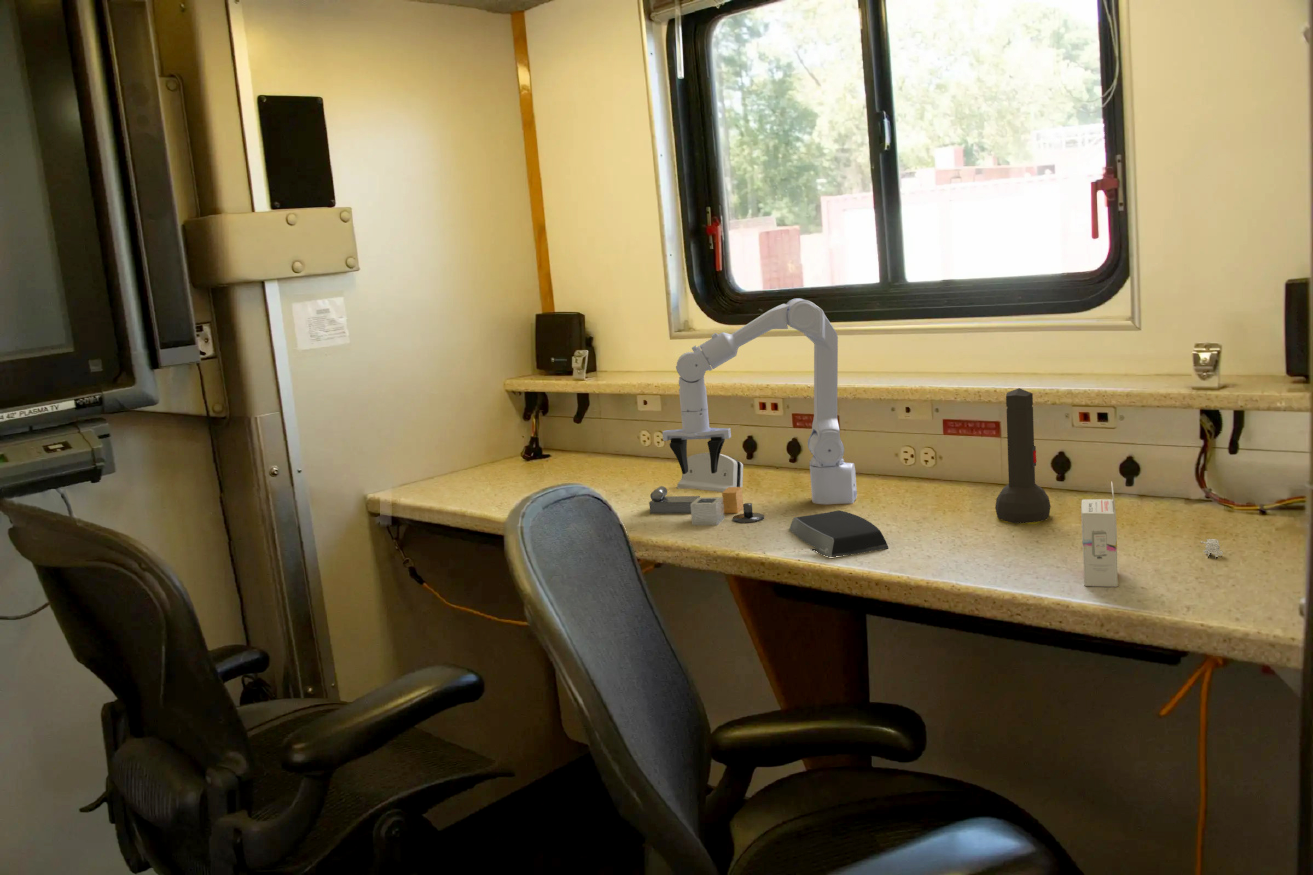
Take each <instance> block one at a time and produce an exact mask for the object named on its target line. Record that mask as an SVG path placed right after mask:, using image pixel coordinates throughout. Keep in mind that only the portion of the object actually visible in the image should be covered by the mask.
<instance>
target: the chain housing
mask: <svg viewBox="0 0 1313 875" xmlns="http://www.w3.org/2000/svg"><path fill="white" fill-rule="evenodd" d="M667 495H668V489H667V487H665V486H663V485H660V486H659V487H656V489H654V490H653V491H652V492H651V493H650V495H649V496H650V501H649V502H648V504H649V513H650V515H651V514H659V515H660V514H661V515H664V514H665V515H666V514H671V515H673V514H675V515H676V514H677V515H678V514H679V515H680V514H683V515H685V514H689V515H690V514H691V505H690V504H691V503H692V502H693V501H695V500H696V499H697V498H701V496H700V495H694V496H693V495H687V496H686V495H685V496H684V495H683V496H681V495H680V496H679V495H677V496H675V495H674V496H667Z"/></svg>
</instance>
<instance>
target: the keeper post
mask: <svg viewBox="0 0 1313 875" xmlns="http://www.w3.org/2000/svg"><path fill="white" fill-rule="evenodd" d="M742 509H743V513H739V514H736V515H734V516H733V517H732V521H733V522H734V523H736V524H737V523H738V524H753V523H754V524H755V523H758V522H762V521H763V520H764V519H765V514H763V513H758V512H753V503H752V502H745V503H743V508H742Z"/></svg>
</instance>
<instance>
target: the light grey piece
mask: <svg viewBox="0 0 1313 875" xmlns="http://www.w3.org/2000/svg"><path fill="white" fill-rule="evenodd" d="M687 462H688V472H687V473H686V474H682V473H681V478H680V480H679V482H678V483H677V486H676V490H677V489H678V490H679V489H680V490H682V489H685V490H687V489H688V490H689V489H691V490H693V489H694V490H700V491H701V490H702V491H710V492H717V493H723V492H724V491H725V490H726V489H727V488H728V487H742V488H743V485H744V484H743V483H744V482H743V481H744V464H743V463H742V462H741V461H740V460H737V458H734V457H733V456H732V457H731V456H729V455H727V454H722V453H720V455H719V460H718V467H717V472H716V473H711V460H710V453H709V452H700V453H696V454H695V453H694V454H692V455H689V456H687Z"/></svg>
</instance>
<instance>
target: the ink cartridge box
mask: <svg viewBox="0 0 1313 875" xmlns="http://www.w3.org/2000/svg"><path fill="white" fill-rule="evenodd" d="M1110 483H1111V484H1110V485H1111V494H1112V499H1108V498H1105V499H1104V498H1103V499H1100V498H1099V499H1089V498H1088V499H1081V502H1080V503H1081V504H1080V505H1081V506H1080V521H1081V540H1082V556H1083V558H1082V559H1083V579H1084V580H1083V581H1084V583H1083V584H1084V587H1109V588H1112V587H1113V588H1115V587H1118V584H1119V583H1118V530H1117V528H1118V527H1117V510H1116V502H1115V491H1114V484H1113V481H1112V480H1111V482H1110Z"/></svg>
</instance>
